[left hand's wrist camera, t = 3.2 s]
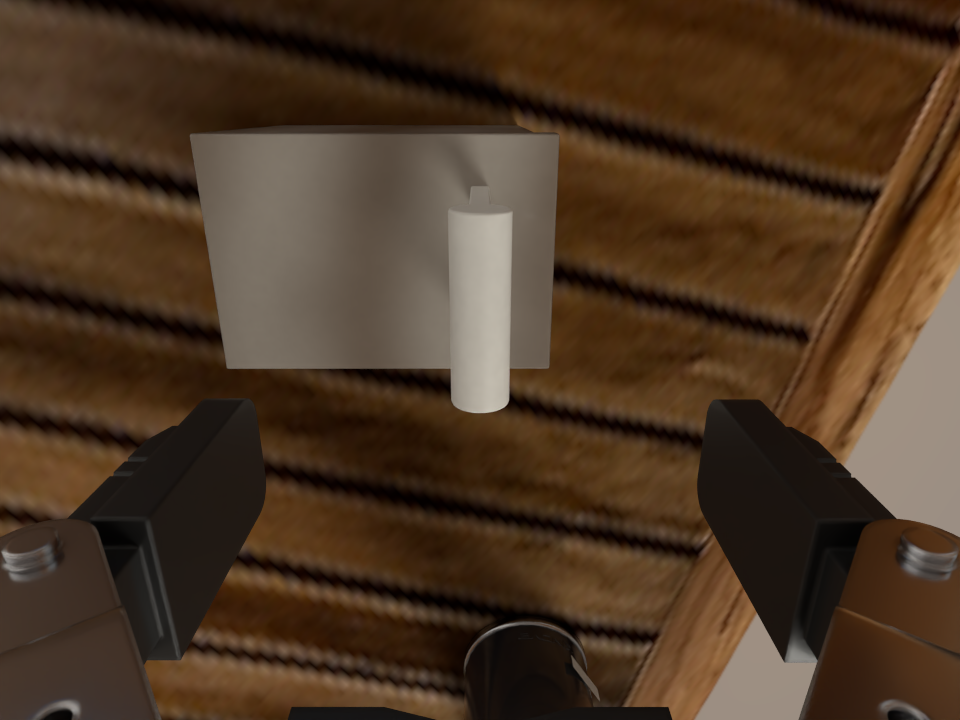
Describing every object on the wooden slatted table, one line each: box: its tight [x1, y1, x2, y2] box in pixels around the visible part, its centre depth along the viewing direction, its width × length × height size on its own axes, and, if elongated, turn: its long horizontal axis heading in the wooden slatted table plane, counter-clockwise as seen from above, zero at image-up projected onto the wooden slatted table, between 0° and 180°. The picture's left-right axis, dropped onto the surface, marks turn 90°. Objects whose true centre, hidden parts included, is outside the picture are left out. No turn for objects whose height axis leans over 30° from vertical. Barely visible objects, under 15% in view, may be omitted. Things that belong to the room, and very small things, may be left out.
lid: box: [190, 133, 559, 413], centre depth 22 cm, size 14×10×9 cm
